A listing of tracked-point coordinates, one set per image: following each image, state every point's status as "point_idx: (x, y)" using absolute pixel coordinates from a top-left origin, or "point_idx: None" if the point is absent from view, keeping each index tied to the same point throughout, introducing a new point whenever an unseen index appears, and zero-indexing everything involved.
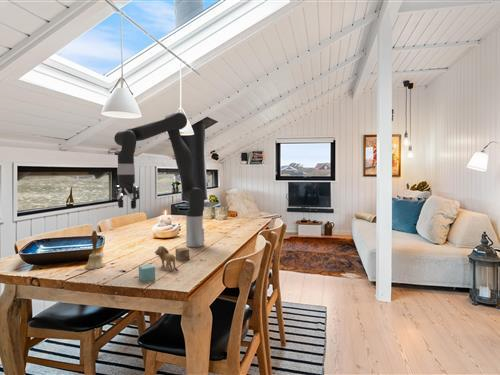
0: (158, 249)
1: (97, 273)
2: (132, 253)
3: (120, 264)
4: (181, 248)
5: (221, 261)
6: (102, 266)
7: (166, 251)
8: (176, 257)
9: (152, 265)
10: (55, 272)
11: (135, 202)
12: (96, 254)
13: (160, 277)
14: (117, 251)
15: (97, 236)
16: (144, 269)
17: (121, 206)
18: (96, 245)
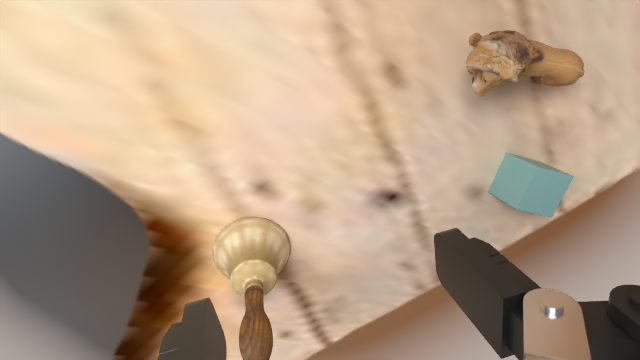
0: (501, 82)
1: (341, 267)
2: (146, 31)
3: (302, 171)
4: None
5: None
6: (287, 237)
7: (536, 59)
8: None
9: (554, 173)
10: None
11: (526, 284)
12: (269, 280)
13: (543, 141)
14: (27, 71)
15: (266, 334)
16: (553, 209)
17: (214, 324)
18: (260, 303)
